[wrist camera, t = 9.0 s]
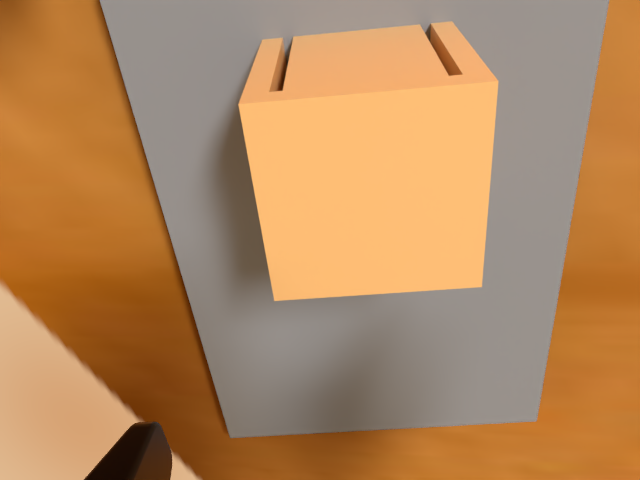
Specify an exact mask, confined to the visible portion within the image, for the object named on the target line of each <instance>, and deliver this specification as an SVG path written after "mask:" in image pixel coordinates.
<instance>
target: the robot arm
mask: <svg viewBox="0 0 640 480" xmlns="http://www.w3.org/2000/svg"><path fill="white" fill-rule="evenodd" d="M171 469H172V454H171V450H170V447H169V445H168V442H167V440H166V437H165V435H164V432H163V430H162V427H161V425H160V424H159V423H158V422H139V423H135V424H133V425H132V426H131V427H130V428H129V429H128V430H127V431H126V432H125V433H124V434H123V436H122V437H121V438H120V439H119V440H118V441H117V442H116V444H115V445H114V446H113V447H112V448H111V449H110V451H109V452H108V453H107V454H106V455H105V456H104V457H103V458H102V460H101V461H100V462H99V463H98V464H97V465H96V466H95V468H94V469H93V470H92V471H91V472H90V473H89V474H88V476H87V477H86V478H85V479H84V480H170V477H171Z"/></svg>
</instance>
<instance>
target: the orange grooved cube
mask: <svg viewBox="0 0 640 480" xmlns="http://www.w3.org/2000/svg"><path fill="white" fill-rule="evenodd" d="M497 94H498V80H497V78H496V77H495V76H494V75H493V73H492V72H491V71H490V69H489V68H488V67H487V66H486V64H485V63H484V62H483V60H482V59H481V58H480V57H479V55H478V54H477V53H476V51H475V50H474V49H473V48H472V46H471V45H470V44H469V42H468V41H467V40H466V39H465V37H464V36H463V35H462V33H461V32H460V31H459V30H458V28H457V27H456V26H455V24H454V23H453V22H452V21H451V22H440V23H431V31H430V41H429V40H428V38H427V36H426V34H425V33H424V31H423V29H422V27H421V26H420V25H409V26H399V27H388V28H378V29H368V30H357V31H347V32H337V33H326V34H316V35H305V36H295V37H293V41H292V46H291V51H290V56H289V61H288V66H287V65H286V58H285V50H284V42H283V38H274V39H264V40H262V42H261V44H260V47H259V50H258V52H257V55H256V58H255V61H254V63H253V66H252V69H251V71H250V74H249V77H248V79H247V82H246V85H245V88H244V90H243V93H242V96H241V98H240V101H239V104H238V105H239V111H240V116H241V122H242V127H243V133H244V138H245V143H246V149H247V154H248V160H249V165H250V171H251V176H252V182H253V187H254V193H255V198H256V204H257V209H258V214H259V220H260V225H261V231H262V236H263V242H264V247H265V253H266V258H267V264H268V269H269V275H270V280H271V286H272V291H273V296H274V301H282V300H297V299H312V298H327V297H342V296H357V295H372V294H386V293H401V292H416V291H431V290H446V289H461V288H476V287H482V279H483V267H484V254H485V242H486V230H487V217H488V205H489V193H490V180H491V168H492V155H493V143H494V131H495V118H496V106H497Z"/></svg>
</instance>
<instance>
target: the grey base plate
mask: <svg viewBox="0 0 640 480" xmlns="http://www.w3.org/2000/svg"><path fill="white" fill-rule="evenodd" d="M100 3H101V6H102V10H103V13H104V16H105V20H106V23H107V26H108V30H109V33H110V36H111V40H112V43H113V46H114V50H115V53H116V57H117V60H118V63H119V67H120V70H121V73H122V77H123V80H124V83H125V87H126V90H127V93H128V97H129V100H130V104H131V107H132V110H133V114H134V117H135V120H136V124H137V127H138V130H139V134H140V137H141V140H142V144H143V147H144V151H145V154H146V157H147V161H148V164H149V167H150V171H151V174H152V177H153V181H154V184H155V187H156V191H157V194H158V197H159V201H160V204H161V208H162V211H163V214H164V218H165V221H166V224H167V228H168V231H169V234H170V238H171V241H172V244H173V248H174V251H175V255H176V258H177V261H178V265H179V268H180V271H181V275H182V278H183V281H184V285H185V288H186V291H187V295H188V298H189V302H190V305H191V308H192V312H193V315H194V318H195V322H196V325H197V328H198V332H199V335H200V338H201V342H202V345H203V349H204V352H205V355H206V359H207V362H208V365H209V369H210V372H211V375H212V379H213V382H214V385H215V389H216V392H217V396H218V399H219V402H220V406H221V409H222V412H223V416H224V419H225V422H226V426H227V429H228V432H229V436H230V438H241V437H259V436H277V435H295V434H314V433H332V432H350V431H368V430H387V429H405V428H423V427H441V426H460V425H478V424H496V423H514V422H533V421H537V416H538V410H539V405H540V399H541V393H542V387H543V381H544V376H545V370H546V364H547V358H548V352H549V347H550V341H551V335H552V329H553V323H554V318H555V312H556V306H557V300H558V294H559V289H560V283H561V277H562V271H563V265H564V260H565V254H566V248H567V242H568V236H569V231H570V225H571V219H572V213H573V207H574V202H575V196H576V190H577V184H578V178H579V173H580V167H581V161H582V155H583V149H584V144H585V138H586V132H587V126H588V120H589V115H590V109H591V103H592V97H593V91H594V85H595V80H596V74H597V68H598V62H599V56H600V51H601V45H602V39H603V33H604V27H605V22H606V16H607V10H608V4H609V0H100ZM451 21H452V22H453V23H454V24H455V26H456V27H457V28H458V30H459V31H460V32H461V33H462V35H463V36H464V37H465V39H466V40H467V41H468V42H469V44H470V45H471V46H472V48H473V49H474V50H475V51H476V53H477V54H478V55H479V57H480V58H481V59H482V60H483V62H484V63H485V64H486V66H487V67H488V68H489V69H490V71H491V72H492V73H493V75H494V76H495V77H496V78H497V80H498V94H497V106H496V118H495V131H494V143H493V155H492V168H491V180H490V193H489V205H488V217H487V230H486V242H485V254H484V267H483V279H482V287H476V288H461V289H446V290H431V291H416V292H401V293H386V294H372V295H357V296H342V297H327V298H312V299H297V300H282V301H274V296H273V291H272V286H271V280H270V275H269V269H268V264H267V258H266V253H265V247H264V242H263V236H262V231H261V225H260V220H259V214H258V209H257V204H256V198H255V193H254V187H253V182H252V176H251V171H250V165H249V160H248V154H247V149H246V143H245V138H244V133H243V127H242V122H241V116H240V111H239V105H238V104H239V101H240V98H241V96H242V93H243V90H244V88H245V85H246V82H247V79H248V77H249V74H250V71H251V69H252V66H253V63H254V61H255V58H256V55H257V52H258V50H259V47H260V44H261V42H262V40H264V39H274V38H283V42H284V50H285V58H286V65H287V66H288V61H289V56H290V51H291V46H292V41H293V37H295V36H305V35H316V34H326V33H337V32H347V31H357V30H368V29H378V28H388V27H399V26H409V25H420V26H421V27H422V29H423V31H424V33H425V34H426V36H427V38H428V40H429V41H430V31H431V23H440V22H451Z"/></svg>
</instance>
